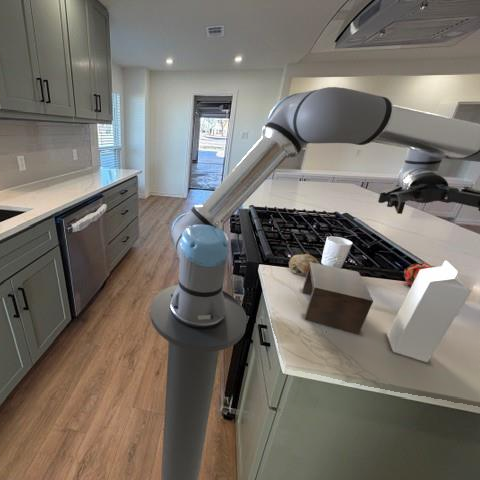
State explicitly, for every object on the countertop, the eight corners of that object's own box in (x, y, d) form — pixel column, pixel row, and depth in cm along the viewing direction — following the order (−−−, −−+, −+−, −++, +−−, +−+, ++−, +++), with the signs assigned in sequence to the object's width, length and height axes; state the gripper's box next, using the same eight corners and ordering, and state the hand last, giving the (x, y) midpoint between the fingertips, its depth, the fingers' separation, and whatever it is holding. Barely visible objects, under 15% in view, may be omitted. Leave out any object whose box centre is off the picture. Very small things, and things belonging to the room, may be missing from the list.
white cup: (332, 259, 100) (339, 235, 96) (348, 269, 93) (358, 244, 89) (314, 260, 99) (321, 236, 95) (330, 270, 92) (338, 245, 88)
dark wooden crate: (304, 319, 67) (314, 287, 63) (301, 290, 80) (310, 262, 76) (358, 334, 63) (373, 301, 59) (346, 300, 75) (358, 271, 71)
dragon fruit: (429, 287, 86) (406, 298, 83) (409, 265, 90) (387, 275, 86) (457, 278, 79) (433, 290, 75) (435, 255, 82) (411, 265, 79)
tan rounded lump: (283, 276, 94) (283, 261, 89) (296, 258, 98) (297, 243, 93) (312, 287, 88) (314, 272, 82) (324, 268, 92) (327, 252, 87)
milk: (392, 351, 58) (436, 267, 49) (386, 335, 63) (425, 255, 54) (428, 363, 55) (481, 276, 46) (419, 344, 60) (465, 263, 51)
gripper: (489, 202, 63) (534, 235, 47) (362, 196, 76) (365, 221, 61) (502, 172, 60) (555, 196, 44) (368, 171, 73) (372, 190, 58)
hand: (445, 210), depth 52 cm, fingers open, 13 cm apart
